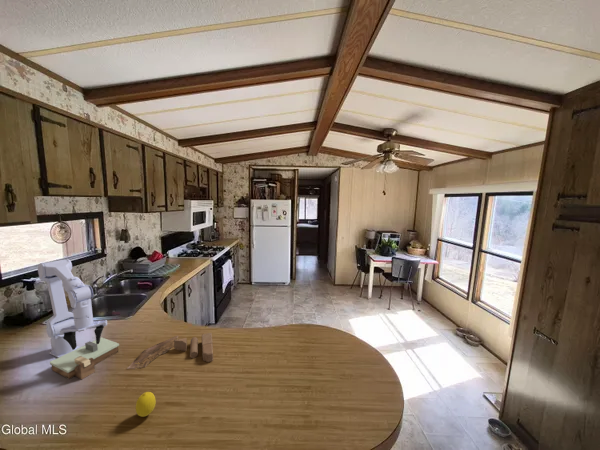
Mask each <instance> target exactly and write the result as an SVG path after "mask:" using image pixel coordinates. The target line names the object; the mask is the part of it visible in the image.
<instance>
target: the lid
mask: <svg viewBox="0 0 600 450" xmlns="http://www.w3.org/2000/svg"><path fill="white" fill-rule="evenodd" d="M84 344H85V345H82V346H80V348H78V349H76V350H74V351H72V352H70V353H67V354H65V355H63V356H61V357H59V358H58V357H56V358H55V359H53V360H51V361H49V365H50V366H52V365H53V366H55V367H57V368H59V369H61V370H63V371H65V372H67V373H69V372H71V371H73V370H74V369H75V367H77V366H79V365H78V364H76V363H75V360H74V359H75V358H77V357H79V356H82V357H84V358H86V359H89V358H93V359H95V358H97V357H99V356H101V355H102V354H104V353H106V352H108V351H110V350H112V349H114V348H115V347H117V346H118V347H120V343H118V342H116V341H113V340H110V339H107V338H105V337H103V336H101V337H100V342H99V344H96V339H95V340H93V341H91V340H89V341H87V342H85V343H84Z"/></svg>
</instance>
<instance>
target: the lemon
mask: <svg viewBox="0 0 600 450" xmlns="http://www.w3.org/2000/svg"><path fill="white" fill-rule="evenodd" d="M156 403H157V401H156V396H155V395H154V393H153V392H151V391H145V392H143V393H142V394H141V395H139V397H138V398H137V399H136V404H135V412H136V413H135V414H137V416H139V417H142V418H145V417H147V416H149V415H151V414H152V412H153V411H154V409H155V408H156Z"/></svg>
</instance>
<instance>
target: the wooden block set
mask: <svg viewBox="0 0 600 450" xmlns="http://www.w3.org/2000/svg"><path fill="white" fill-rule="evenodd" d="M212 334H213V333H212V332H208V333H203V334H202V335H201V352H202V361H203V362H206V363H210V362H213V361H214V347H213V335H212ZM174 350H177V351H180V350H181V352H185V351H187V350H188V338H187V337H184V338H180V339H179V338H177V340H174ZM198 354H199V339H198V337H196V336H195V337H194V336H193V337H192V338H191V339H190V349H189V357H190V358H191V359H195V358H197V357H198Z"/></svg>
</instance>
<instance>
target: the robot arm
mask: <svg viewBox="0 0 600 450" xmlns="http://www.w3.org/2000/svg"><path fill="white" fill-rule="evenodd" d="M72 270H73V263H72V261H71V260H70V259H69V258H65V259H61V260H60V259H59V260H55V261H54V260H53V261H47V262H40V263H39V264H38V265H37V274H38V277H39V280H40V281H41V282H45V283H46V284H47V289H48V293H49V294H48V295H49V297H50V298H49V299H50V303H51V308H52V313H53V315H52V316H51V317H50V318H49V319H48V320H47V321H46V323H45V326H46V334H47V336H48V337H49V338H50V347H51V351H49V354H50V355H52V356H54V357H55V358H59V357H61V356H63V355H65V354H67V353H70V352H72V351H74V350H76V349H78V348H80V347H81V346H79V345H78V344H77V338H76V332H79V333H80V332H85V331H86V330H89V329H90V330H91V329H94V330H93V332H94V336H95V340H96V344H99V342H100V338H101V337H102V336H101V335H102V333H103V330H104V328H105V327H107V326H108V320H107V319H105V320H104V319H103V320H94V315H93V307H92V306H93V305H92V304H93V303H92V299H93V298H94V290H93V287H92V285H90V284H85V283H84V282H83V280H81V278H80V277H78V276H75V275H74V274H73V272H72ZM65 292H66V293H67V295H68V299H69V302H70V307H71V308H72V312H71V311H69V309H68V304H67V300H66V294H65Z"/></svg>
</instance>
